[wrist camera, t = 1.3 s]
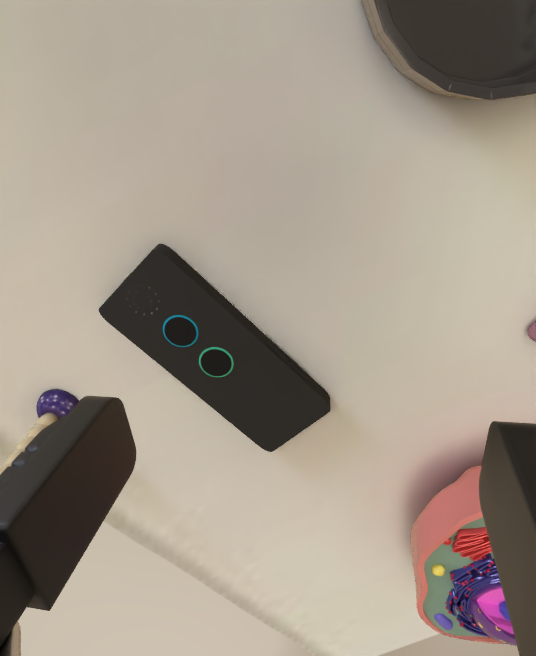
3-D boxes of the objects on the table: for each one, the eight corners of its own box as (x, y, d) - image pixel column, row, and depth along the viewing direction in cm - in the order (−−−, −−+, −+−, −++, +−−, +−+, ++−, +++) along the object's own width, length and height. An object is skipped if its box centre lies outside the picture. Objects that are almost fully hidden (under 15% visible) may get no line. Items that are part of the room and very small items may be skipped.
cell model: (624, 446, 40) (729, 563, 30) (516, 578, 49) (569, 701, 39) (443, 402, 40) (488, 507, 30) (368, 545, 49) (384, 661, 39)
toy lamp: (86, 430, 45) (-25, 596, 30) (40, 425, 45) (-91, 588, 30) (79, 390, 42) (-44, 549, 28) (31, 386, 43) (-117, 541, 28)
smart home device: (156, 245, 33) (335, 408, 39) (162, 238, 35) (334, 396, 40) (93, 313, 36) (267, 456, 42) (102, 305, 38) (269, 443, 43)
